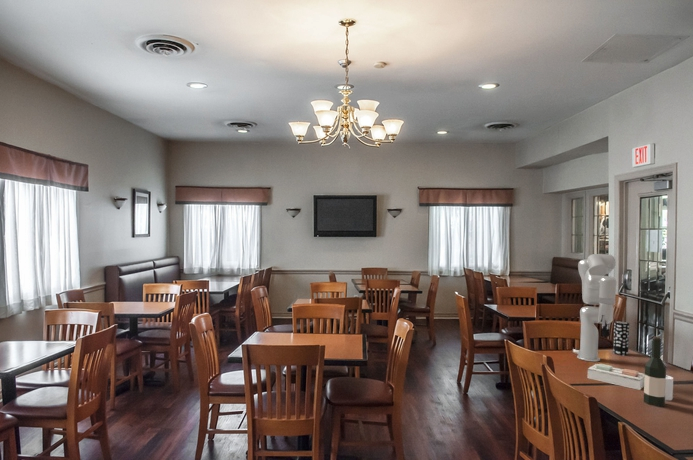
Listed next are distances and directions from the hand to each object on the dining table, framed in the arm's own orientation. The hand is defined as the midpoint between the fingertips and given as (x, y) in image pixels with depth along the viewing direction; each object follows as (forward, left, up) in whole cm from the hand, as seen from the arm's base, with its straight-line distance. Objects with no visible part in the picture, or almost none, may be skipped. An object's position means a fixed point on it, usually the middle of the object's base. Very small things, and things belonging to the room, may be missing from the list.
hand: (605, 336), depth 254 cm
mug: (+27, -9, -22) cm, 36 cm away
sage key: (0, 0, -19) cm, 19 cm away
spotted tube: (-8, +65, -22) cm, 69 cm away
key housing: (+6, 0, -22) cm, 23 cm away
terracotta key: (+12, 0, -19) cm, 22 cm away
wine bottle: (+27, -23, -22) cm, 42 cm away
